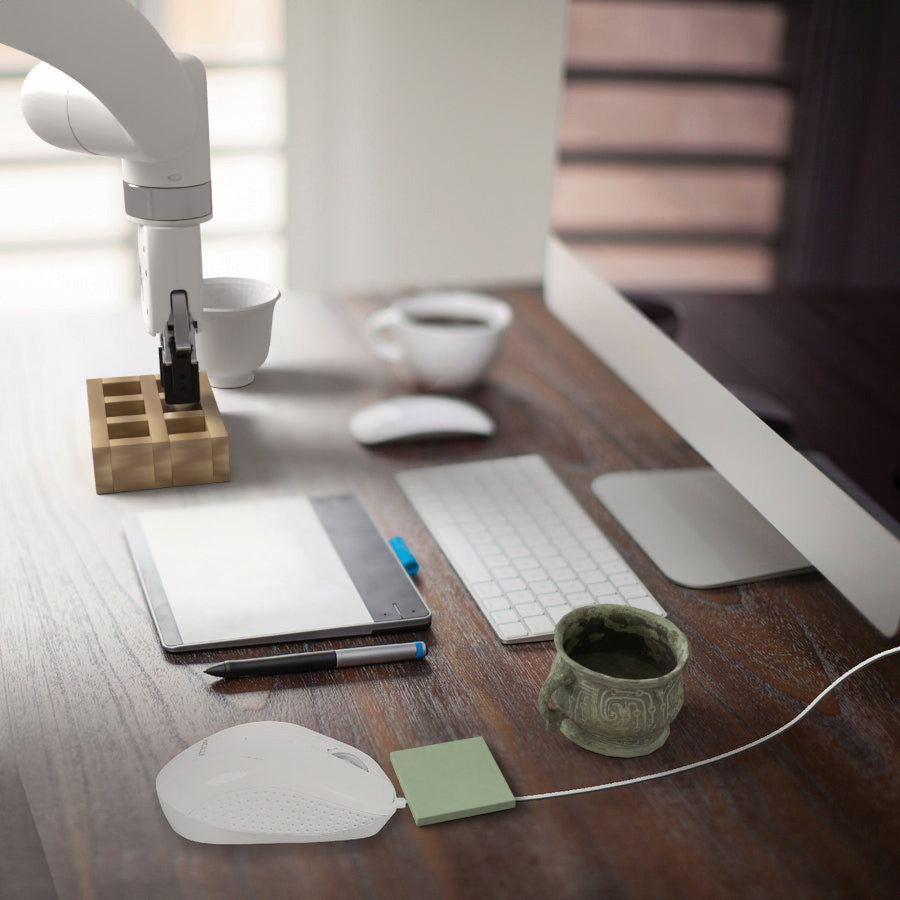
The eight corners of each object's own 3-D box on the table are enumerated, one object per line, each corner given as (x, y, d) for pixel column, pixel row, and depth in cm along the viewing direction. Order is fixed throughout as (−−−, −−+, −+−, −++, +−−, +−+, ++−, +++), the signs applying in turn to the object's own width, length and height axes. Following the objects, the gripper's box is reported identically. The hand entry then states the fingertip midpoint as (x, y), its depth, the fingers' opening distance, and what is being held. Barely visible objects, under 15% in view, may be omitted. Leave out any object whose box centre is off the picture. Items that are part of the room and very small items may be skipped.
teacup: (188, 350, 135) (183, 268, 130) (301, 370, 130) (300, 285, 126) (128, 383, 124) (120, 295, 120) (248, 406, 120) (245, 315, 116)
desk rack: (96, 494, 100) (91, 447, 98) (90, 420, 115) (86, 378, 113) (230, 481, 104) (228, 436, 102) (207, 411, 118) (205, 370, 116)
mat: (417, 827, 65) (417, 819, 65) (389, 759, 70) (389, 751, 70) (515, 807, 67) (516, 799, 66) (481, 743, 72) (482, 735, 72)
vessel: (642, 661, 81) (652, 585, 78) (727, 733, 74) (741, 652, 71) (498, 707, 75) (504, 627, 73) (575, 790, 68) (584, 704, 66)
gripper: (119, 182, 106) (133, 367, 114) (130, 224, 92) (146, 432, 100) (201, 180, 108) (209, 361, 116) (224, 221, 94) (232, 425, 102)
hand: (180, 392), depth 108 cm, fingers open, 3 cm apart
